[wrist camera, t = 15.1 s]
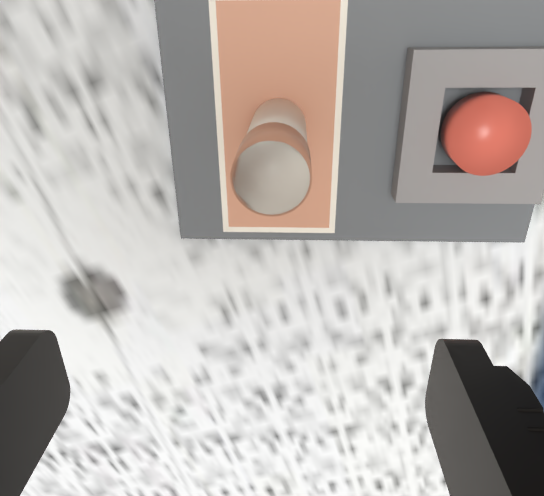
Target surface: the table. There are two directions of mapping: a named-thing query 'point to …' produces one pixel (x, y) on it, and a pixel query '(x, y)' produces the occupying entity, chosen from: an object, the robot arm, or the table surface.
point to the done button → (485, 133)
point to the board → (352, 112)
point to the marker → (273, 160)
